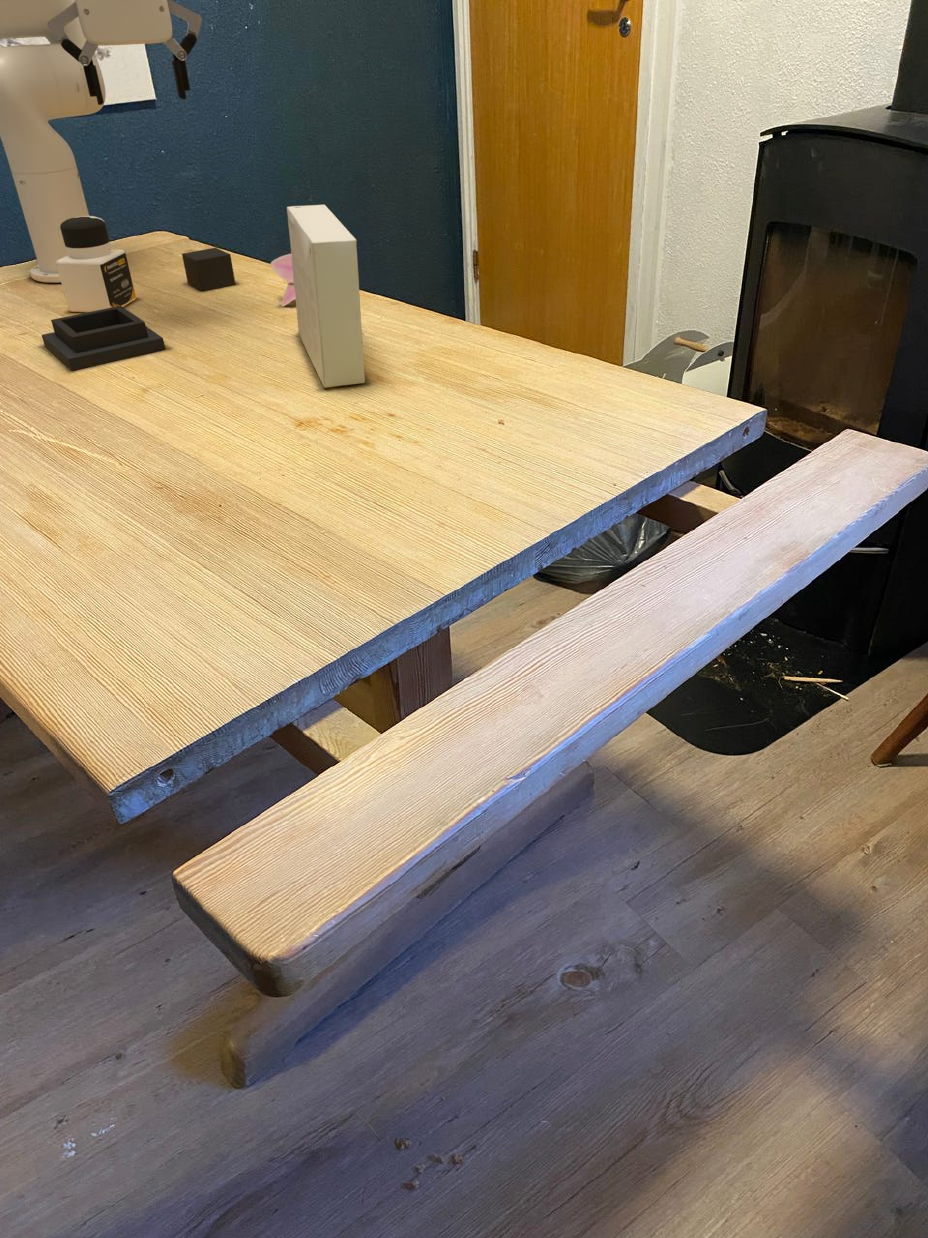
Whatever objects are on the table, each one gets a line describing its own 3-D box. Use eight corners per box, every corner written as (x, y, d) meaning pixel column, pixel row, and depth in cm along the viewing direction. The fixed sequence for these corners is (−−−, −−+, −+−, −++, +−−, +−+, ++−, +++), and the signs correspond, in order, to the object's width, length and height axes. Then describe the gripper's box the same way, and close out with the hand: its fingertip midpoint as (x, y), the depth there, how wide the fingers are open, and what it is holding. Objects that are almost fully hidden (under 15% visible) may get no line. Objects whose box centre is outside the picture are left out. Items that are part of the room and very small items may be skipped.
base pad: (44, 345, 119) (36, 319, 117) (133, 326, 124) (127, 300, 122) (71, 370, 111) (63, 342, 109) (165, 349, 116) (159, 321, 114)
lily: (275, 301, 136) (247, 250, 128) (341, 260, 137) (317, 207, 128) (307, 346, 130) (280, 296, 122) (376, 302, 131) (354, 250, 122)
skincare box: (370, 384, 104) (357, 238, 95) (324, 390, 103) (306, 243, 94) (338, 329, 121) (325, 201, 112) (298, 334, 120) (280, 204, 111)
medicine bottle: (113, 313, 130) (90, 224, 123) (68, 312, 131) (43, 223, 124) (137, 299, 135) (117, 213, 128) (94, 297, 137) (71, 212, 130)
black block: (187, 283, 142) (181, 253, 139) (221, 276, 144) (215, 247, 142) (201, 291, 138) (195, 260, 135) (235, 284, 140) (230, 253, 138)
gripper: (182, -77, 105) (210, 93, 115) (24, -74, 101) (67, 102, 111) (188, -80, 99) (217, 99, 109) (21, -77, 95) (67, 109, 105)
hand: (142, 100), depth 110 cm, fingers open, 9 cm apart
